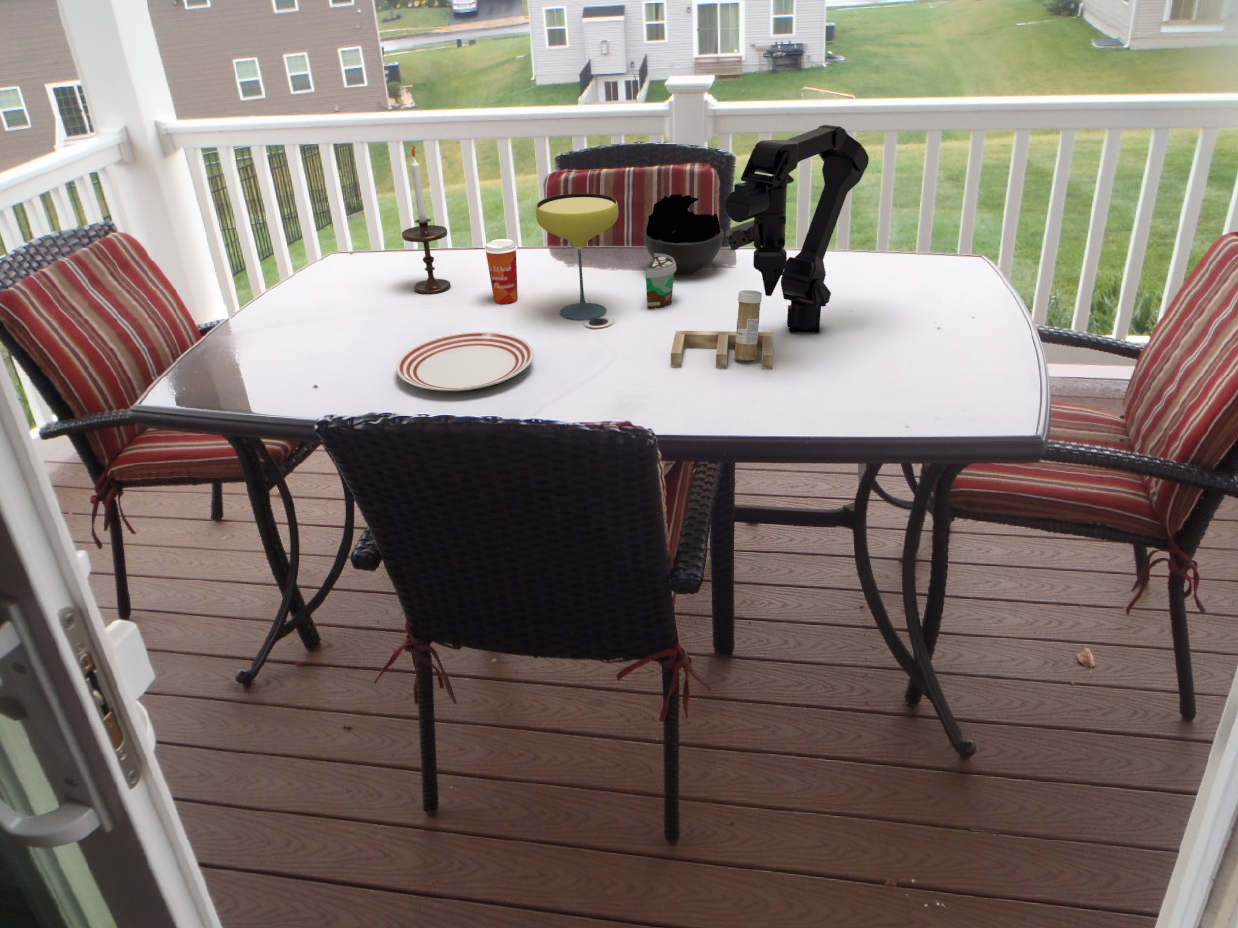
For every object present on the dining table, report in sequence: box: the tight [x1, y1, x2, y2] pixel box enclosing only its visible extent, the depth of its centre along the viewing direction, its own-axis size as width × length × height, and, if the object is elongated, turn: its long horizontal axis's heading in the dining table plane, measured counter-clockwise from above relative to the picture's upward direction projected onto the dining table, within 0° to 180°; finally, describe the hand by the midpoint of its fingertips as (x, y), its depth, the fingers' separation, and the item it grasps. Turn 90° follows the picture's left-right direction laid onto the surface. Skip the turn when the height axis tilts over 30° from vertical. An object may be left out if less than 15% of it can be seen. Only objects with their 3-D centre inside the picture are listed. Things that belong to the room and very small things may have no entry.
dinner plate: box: [396, 331, 535, 392], centre depth 186 cm, size 27×27×3 cm
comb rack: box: [670, 330, 774, 370], centre depth 188 cm, size 20×12×3 cm, turn 82°
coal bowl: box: [643, 193, 725, 274], centre depth 232 cm, size 20×20×19 cm
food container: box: [644, 253, 677, 310], centre depth 215 cm, size 12×6×10 cm, turn 168°
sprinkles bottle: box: [733, 289, 763, 361], centre depth 184 cm, size 5×5×14 cm
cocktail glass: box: [535, 192, 619, 321], centre depth 208 cm, size 18×18×25 cm
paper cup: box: [483, 238, 519, 305], centre depth 219 cm, size 8×8×14 cm
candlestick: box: [401, 143, 452, 295], centre depth 224 cm, size 11×11×35 cm
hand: (768, 287), depth 186 cm, fingers open, 9 cm apart
